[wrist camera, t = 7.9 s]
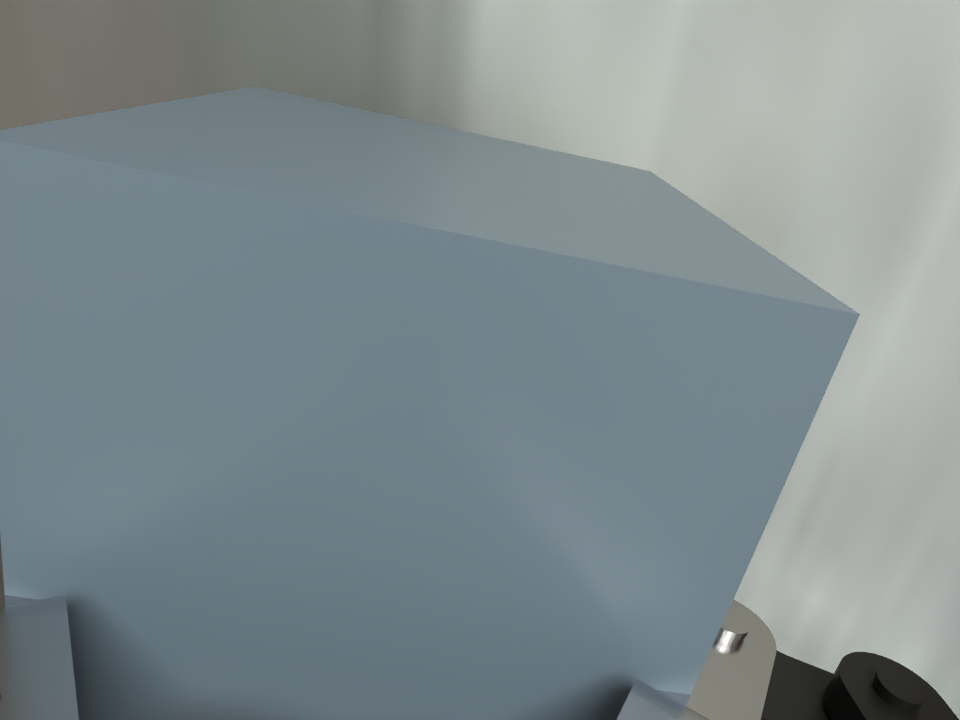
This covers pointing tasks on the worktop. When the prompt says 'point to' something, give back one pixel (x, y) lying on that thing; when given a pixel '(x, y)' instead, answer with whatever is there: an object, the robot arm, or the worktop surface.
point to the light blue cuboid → (382, 413)
